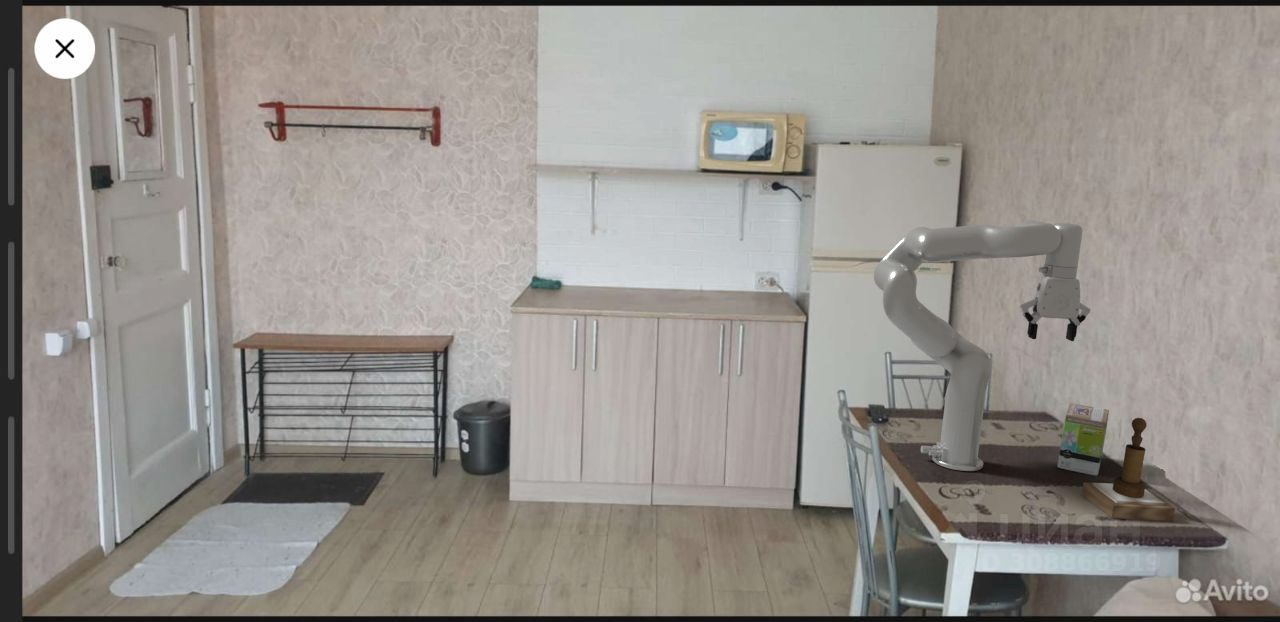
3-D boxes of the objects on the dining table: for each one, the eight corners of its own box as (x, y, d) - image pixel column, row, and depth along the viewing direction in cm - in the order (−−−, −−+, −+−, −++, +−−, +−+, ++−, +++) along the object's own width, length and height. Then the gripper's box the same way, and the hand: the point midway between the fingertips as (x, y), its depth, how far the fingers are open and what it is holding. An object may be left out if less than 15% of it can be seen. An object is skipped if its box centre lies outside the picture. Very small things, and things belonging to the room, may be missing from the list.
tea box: (1099, 477, 228) (1107, 421, 226) (1056, 468, 233) (1064, 414, 230) (1101, 460, 241) (1109, 408, 239) (1061, 452, 246) (1068, 401, 243)
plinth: (1111, 517, 202) (1113, 502, 201) (1081, 494, 215) (1083, 480, 215) (1173, 520, 202) (1175, 505, 201) (1139, 497, 216) (1141, 482, 215)
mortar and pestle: (1149, 498, 205) (1162, 423, 201) (1121, 497, 205) (1133, 422, 201) (1134, 487, 211) (1146, 415, 208) (1107, 486, 211) (1118, 413, 208)
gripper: (1032, 273, 220) (1023, 340, 223) (1101, 276, 220) (1092, 344, 223) (1019, 269, 227) (1011, 334, 231) (1087, 272, 228) (1077, 337, 231)
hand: (1050, 339), depth 227 cm, fingers open, 9 cm apart
